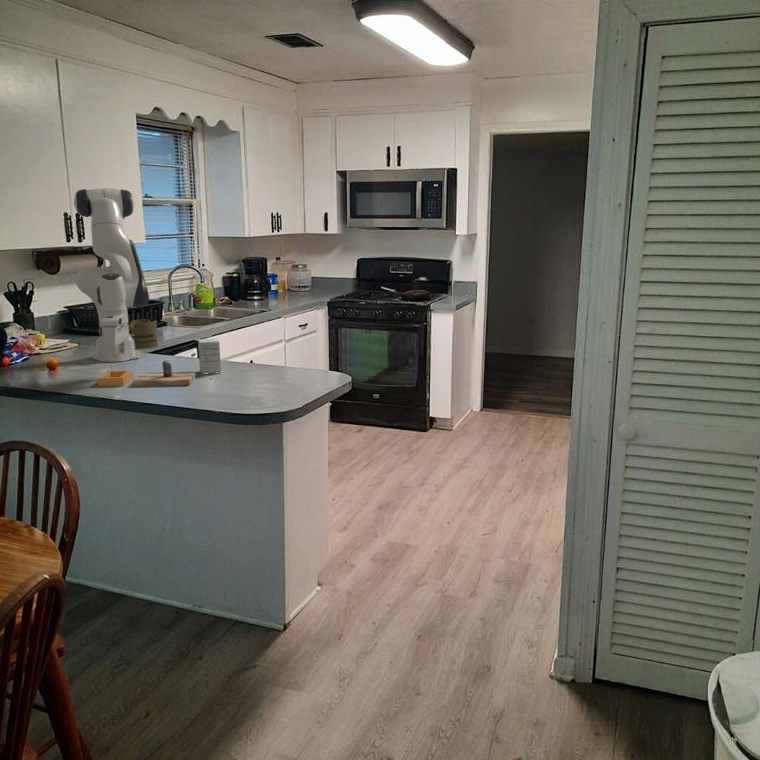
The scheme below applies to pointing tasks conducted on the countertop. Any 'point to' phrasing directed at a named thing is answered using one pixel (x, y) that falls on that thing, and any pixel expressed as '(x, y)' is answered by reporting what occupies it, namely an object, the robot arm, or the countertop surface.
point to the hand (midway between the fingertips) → (118, 355)
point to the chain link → (115, 378)
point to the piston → (144, 333)
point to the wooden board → (164, 379)
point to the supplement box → (209, 355)
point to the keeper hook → (167, 369)
